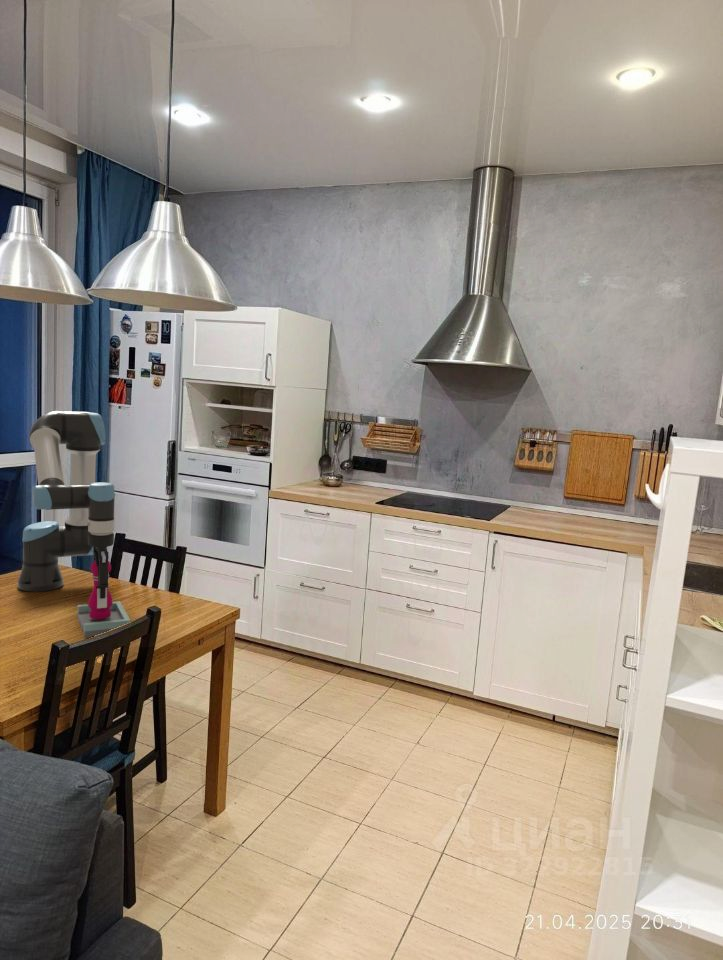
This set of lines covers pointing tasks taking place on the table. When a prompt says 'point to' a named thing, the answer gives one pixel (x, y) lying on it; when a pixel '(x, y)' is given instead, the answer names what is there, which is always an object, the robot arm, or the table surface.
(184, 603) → the table surface
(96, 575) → the pepper mill
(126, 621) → the tray
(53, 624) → the table surface
